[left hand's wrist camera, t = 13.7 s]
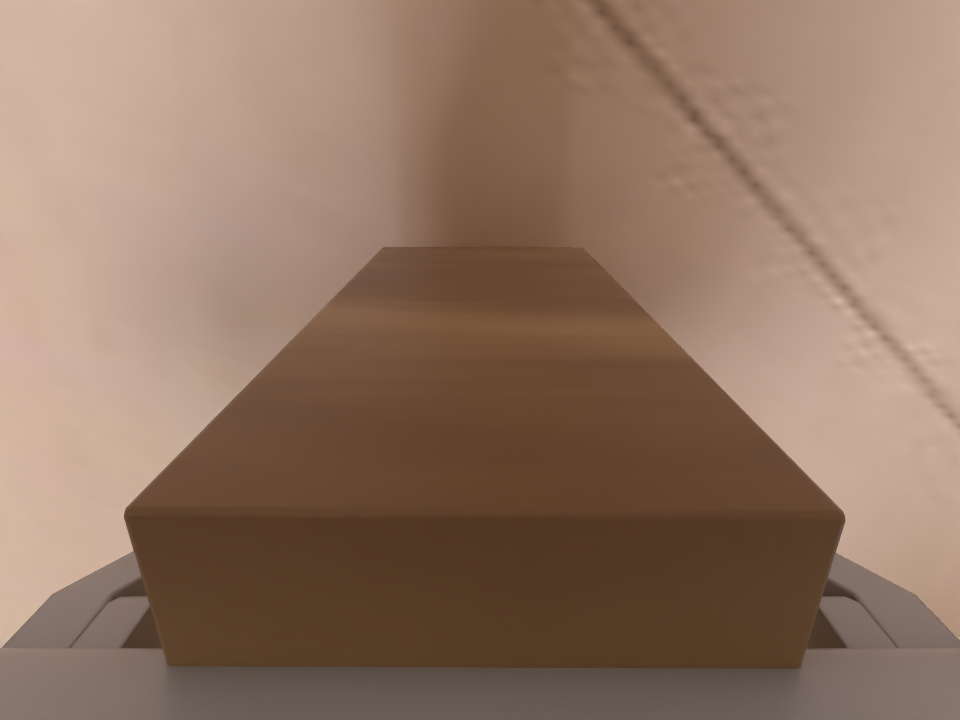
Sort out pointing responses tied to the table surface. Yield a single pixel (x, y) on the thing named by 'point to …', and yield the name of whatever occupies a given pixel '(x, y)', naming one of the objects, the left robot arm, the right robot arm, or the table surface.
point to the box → (484, 489)
